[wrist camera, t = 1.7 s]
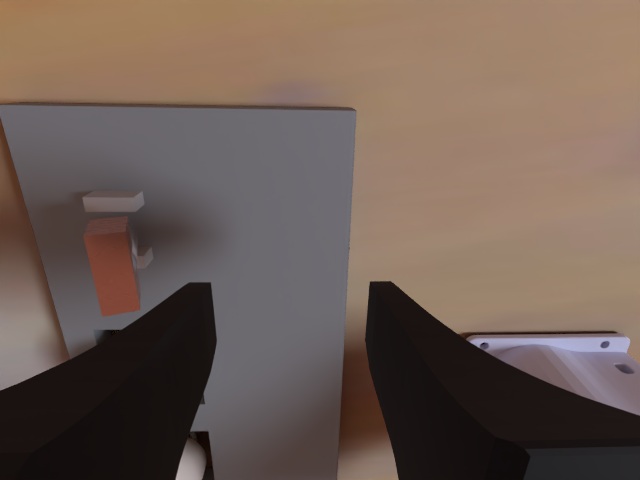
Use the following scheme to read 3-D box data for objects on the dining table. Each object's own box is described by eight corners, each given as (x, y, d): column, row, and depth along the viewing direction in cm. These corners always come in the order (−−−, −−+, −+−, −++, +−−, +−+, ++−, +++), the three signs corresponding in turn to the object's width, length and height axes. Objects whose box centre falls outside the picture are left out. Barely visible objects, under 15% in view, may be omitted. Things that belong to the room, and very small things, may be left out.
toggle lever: (132, 194, 17) (128, 231, 13) (143, 259, 18) (143, 309, 14) (94, 198, 16) (79, 236, 12) (108, 263, 17) (99, 317, 13)
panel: (352, 107, 17) (359, 113, 15) (334, 479, 27) (337, 518, 24) (22, 102, 17) (-24, 106, 14) (122, 485, 26) (105, 525, 24)
